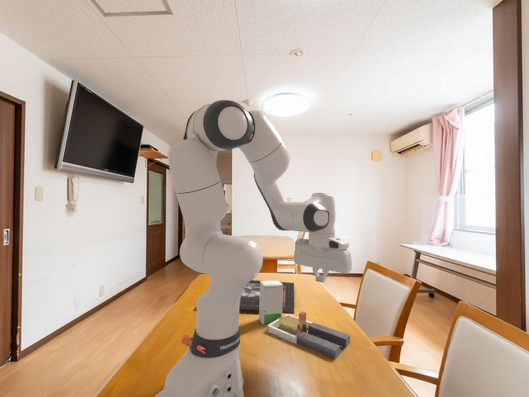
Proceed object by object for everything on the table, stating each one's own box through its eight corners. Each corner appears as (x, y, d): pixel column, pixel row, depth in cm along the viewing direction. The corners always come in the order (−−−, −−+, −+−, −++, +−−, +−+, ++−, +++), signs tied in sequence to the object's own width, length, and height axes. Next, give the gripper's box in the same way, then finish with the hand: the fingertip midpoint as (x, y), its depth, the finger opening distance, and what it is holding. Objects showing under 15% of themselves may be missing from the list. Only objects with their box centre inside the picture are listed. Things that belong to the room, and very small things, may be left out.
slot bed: (335, 362, 76) (335, 350, 76) (295, 345, 85) (295, 334, 85) (350, 345, 85) (350, 335, 85) (312, 331, 94) (313, 322, 94)
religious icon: (218, 282, 151) (218, 277, 151) (293, 287, 147) (294, 281, 147) (193, 311, 111) (193, 304, 111) (295, 318, 107) (296, 311, 107)
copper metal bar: (300, 337, 88) (301, 315, 88) (297, 335, 89) (297, 314, 89) (307, 332, 91) (307, 311, 91) (303, 330, 92) (303, 310, 92)
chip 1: (287, 333, 91) (287, 322, 92) (278, 329, 94) (278, 318, 94) (293, 329, 95) (293, 318, 95) (284, 325, 97) (285, 315, 97)
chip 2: (297, 337, 89) (297, 325, 89) (287, 333, 91) (287, 322, 92) (303, 332, 92) (303, 321, 92) (293, 329, 95) (293, 318, 95)
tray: (295, 346, 84) (296, 337, 84) (266, 333, 92) (266, 325, 92) (314, 331, 94) (315, 323, 94) (287, 321, 102) (287, 313, 102)
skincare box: (262, 326, 97) (263, 285, 98) (258, 318, 104) (259, 280, 104) (282, 324, 99) (283, 284, 100) (277, 316, 106) (278, 279, 106)
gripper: (290, 238, 91) (289, 277, 90) (346, 245, 78) (345, 290, 77) (300, 237, 95) (298, 274, 95) (354, 243, 82) (353, 286, 82)
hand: (320, 281), depth 86 cm, fingers closed
